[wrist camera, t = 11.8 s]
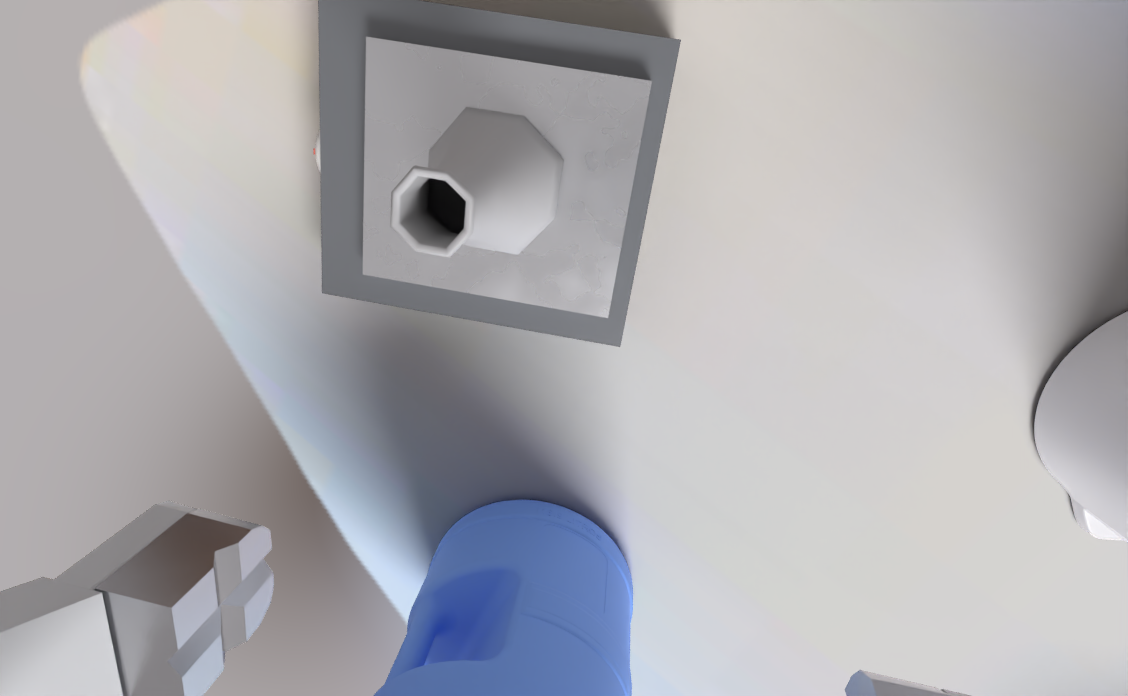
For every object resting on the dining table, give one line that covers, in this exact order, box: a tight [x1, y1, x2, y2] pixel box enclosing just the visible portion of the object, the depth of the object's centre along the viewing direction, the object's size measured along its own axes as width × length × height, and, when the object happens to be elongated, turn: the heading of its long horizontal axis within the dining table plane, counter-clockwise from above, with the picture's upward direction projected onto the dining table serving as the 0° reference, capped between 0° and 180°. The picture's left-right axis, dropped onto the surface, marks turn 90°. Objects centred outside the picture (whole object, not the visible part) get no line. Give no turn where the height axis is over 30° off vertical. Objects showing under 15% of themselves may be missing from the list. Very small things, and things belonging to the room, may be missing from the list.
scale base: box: [314, 0, 681, 347], centre depth 33 cm, size 19×16×4 cm
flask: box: [390, 107, 564, 257], centre depth 26 cm, size 7×7×10 cm
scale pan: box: [363, 37, 652, 318], centre depth 31 cm, size 14×12×1 cm
